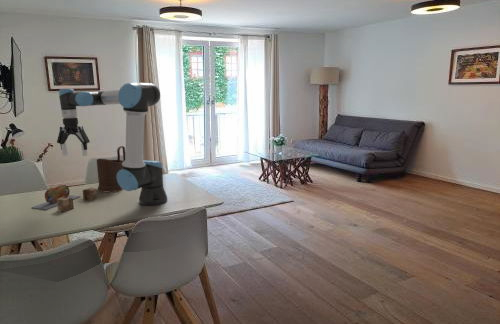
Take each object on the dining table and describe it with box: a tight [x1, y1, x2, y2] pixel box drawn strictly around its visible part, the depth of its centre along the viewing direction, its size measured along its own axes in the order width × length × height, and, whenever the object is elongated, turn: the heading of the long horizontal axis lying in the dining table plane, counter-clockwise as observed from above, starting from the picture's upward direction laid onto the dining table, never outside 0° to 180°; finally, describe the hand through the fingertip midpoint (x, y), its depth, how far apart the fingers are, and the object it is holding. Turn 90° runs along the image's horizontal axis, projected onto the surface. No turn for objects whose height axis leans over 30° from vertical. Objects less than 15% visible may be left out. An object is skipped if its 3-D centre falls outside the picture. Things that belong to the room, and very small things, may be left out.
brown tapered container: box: [96, 145, 126, 193], centre depth 231 cm, size 18×24×25 cm
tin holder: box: [57, 187, 98, 212], centre depth 198 cm, size 6×23×6 cm, turn 161°
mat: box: [31, 194, 82, 211], centre depth 202 cm, size 10×24×1 cm, turn 161°
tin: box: [44, 184, 70, 203], centre depth 202 cm, size 15×3×8 cm, turn 161°
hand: (75, 155), depth 203 cm, fingers open, 13 cm apart
